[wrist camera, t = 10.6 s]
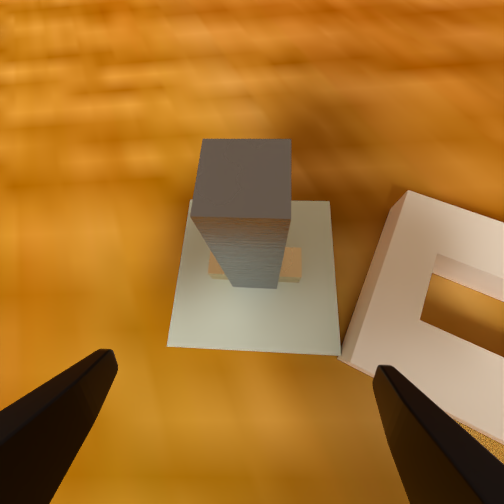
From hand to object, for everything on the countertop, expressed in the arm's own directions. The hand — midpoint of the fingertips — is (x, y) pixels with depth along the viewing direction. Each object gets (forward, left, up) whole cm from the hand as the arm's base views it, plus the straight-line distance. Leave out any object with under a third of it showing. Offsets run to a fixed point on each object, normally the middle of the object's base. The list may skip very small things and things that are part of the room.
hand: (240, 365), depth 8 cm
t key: (+2, +5, -7) cm, 9 cm away
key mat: (+2, +5, -8) cm, 10 cm away
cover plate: (+14, -2, -8) cm, 16 cm away
